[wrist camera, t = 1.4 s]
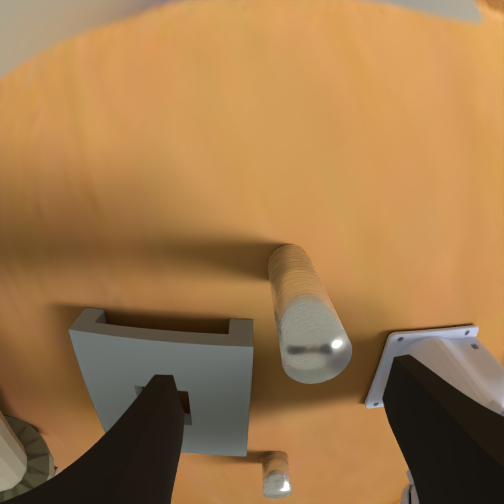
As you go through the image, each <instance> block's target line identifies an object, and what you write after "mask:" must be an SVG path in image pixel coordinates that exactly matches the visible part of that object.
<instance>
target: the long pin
mask: <svg viewBox="0 0 504 504" xmlns="http://www.w3.org/2000/svg"><path fill="white" fill-rule="evenodd" d="M267 266H268V273H269V280H270V286H271V293H272V299H273V306H274V313H275V319H276V326H277V333H278V340H279V346H280V353H281V360H282V366H283V369H284V371H285V373H286V374H287V375H288V376H289V377H290V378H292V379H293V380H295V381H298V382H301V383H306V384H315V383H321V382H325V381H328V380H330V379H332V378H334V377H336V376H337V375H338V374H340V373H341V372H342V371H343V370H344V369H345V368H346V367H347V365H348V364H349V362H350V359H351V356H352V345H351V343H350V340H349V338H348V336H347V334H346V332H345V330H344V328H343V326H342V323H341V321H340V319H339V317H338V315H337V313H336V311H335V309H334V307H333V305H332V303H331V300H330V298H329V296H328V294H327V292H326V290H325V288H324V286H323V284H322V282H321V280H320V278H319V276H318V274H317V272H316V270H315V268H314V266H313V264H312V262H311V260H310V258H309V256H308V254H307V253H306V251H305V250H304V249H302V248H301V247H299V246H297V245H293V244H286V245H282V246H280V247H278V248H276V249H275V250H274V251H273V252H272V253H271V255H270V256H269V259H268V264H267Z"/></svg>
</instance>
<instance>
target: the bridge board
mask: <svg viewBox="0 0 504 504" xmlns="http://www.w3.org/2000/svg"><path fill="white" fill-rule="evenodd" d="M68 331H69V334H70V338H71V341H72V345H73V348H74V351H75V355H76V358H77V361H78V364H79V367H80V370H81V373H82V376H83V378H84V381H85V384H86V387H87V389H88V392H89V395H90V397H91V400H92V402H93V405H94V407H95V410H96V412H97V415H98V417H99V419H100V422H101V424H102V426H103V429H104V431H105V433H106V432H107V431H108V430H109V429H110V428H111V427H112V426H113V425H114V424H115V423H116V422H117V420H118V419H119V418H120V417H121V416H122V415H123V413H124V412H125V411H126V410H127V409H128V407H129V406H130V405H131V404H132V403H133V401H134V400H135V399H136V398H137V396H138V395H139V394H140V393H141V391H142V387H141V386H143V387H145V386H146V385H147V383H148V382H149V381H150V380H151V378H152V377H153V376H154V375H155V374H159V375H173V376H174V380H175V384H176V387H177V391H187V392H188V395H189V403H190V411H191V414H187V413H184V414H185V420H184V433H183V443H182V448H181V452H186V453H196V454H208V455H223V456H246V455H247V441H248V426H249V411H250V396H251V380H252V365H253V349H254V343H253V320H247V319H230V324H229V334H212V333H196V332H181V331H168V330H157V329H146V328H136V327H127V326H118V325H109V324H107V322H106V317H105V312H104V309H97V308H88V307H86V308H85V309H84V311H83V312H82V313H81V314H80V315H79V317H78V318H77V319H76V320H75V321H74V323H73V324H72V325H71V326H70V328H69V329H68Z"/></svg>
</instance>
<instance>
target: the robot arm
mask: <svg viewBox="0 0 504 504" xmlns="http://www.w3.org/2000/svg"><path fill="white" fill-rule="evenodd" d="M478 330H479V328H478V327H477V326H476V325H469V326H460V327H451V328H440V329H429V330H417V331H403V332H393V333H391V334H390V335H389V336H388V338H387V341H386V344H385V347H384V351H383V354H382V357H381V360H380V363H379V366H378V368H377V371H376V374H375V377H374V380H373V382H372V385H371V388H370V390H369V393H368V396H367V398H366V401H365V407H366V408H376V407H383V406H384V408H385V411H386V414H387V418H388V421H389V424H390V426H391V428H392V431H393V433H394V435H395V438H396V440H397V442H398V444H399V447H400V449H401V451H402V453H403V456H404V458H405V460H406V463H407V465H408V467H409V470H408V471H407V472H406V473H407V476H408V479H409V481H410V483H409V484H408V485H406V487H405V488H404V489H403V492H402V496H401V502H400V504H504V367H503V366H502V365H501V364H500V363H499V362H498V360H497V359H496V358H495V357H494V356H493V355H492V354H491V353H490V352H489V351H488V349H487V348H486V347H485V346H484V345H483V344H482V343H481V342H480V341H479V340H478V339H477V338H476V335H477V333H478ZM400 337H401V338H400ZM398 338H400V339H398ZM184 420H185V414H184V411H183V408H182V404H181V401H180V398H179V394H178V391H177V387H176V384H175V380H174V376H173V375H159V374H155V375H154V376H153V377H152V378H151V380H150V381H149V382H148V383H147V385H146V386H145V387H144V389H143V390H142V391H141V393H140V394H139V395H138V396H137V398H136V399H135V400H134V401H133V403H132V404H131V405H130V406H129V407H128V409H127V410H126V411H125V412H124V413H123V415H122V416H121V417H120V418H119V419H118V420H117V422H116V423H115V424H114V425H113V426H112V427H111V428H110V429H109V430H108V431H107V432H106V433H105V434H104V435H103V437H102V438H101V439H100V440H99V441H98V442H97V443H95V444H94V445H93V446H92V447H91V448H90V449H89V450H88V451H87V452H86V453H84V454H83V455H82V456H81V457H80V458H79V459H77V460H76V461H75V462H73V463H72V464H71V465H70V466H68V467H67V468H66V469H64V470H63V471H61V472H60V473H58V474H57V475H56V476H54V477H52V478H51V479H49V480H47V481H46V482H44V483H42V484H40V485H39V486H37V487H35V488H33V489H31V490H29V491H27V492H25V493H23V494H21V495H18V496H16V497H13V498H11V499H8V500H6V501H3V502H0V504H170V503H171V497H172V491H173V486H174V481H175V476H176V472H177V467H178V462H179V457H180V453H181V448H182V443H183V433H184Z"/></svg>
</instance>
